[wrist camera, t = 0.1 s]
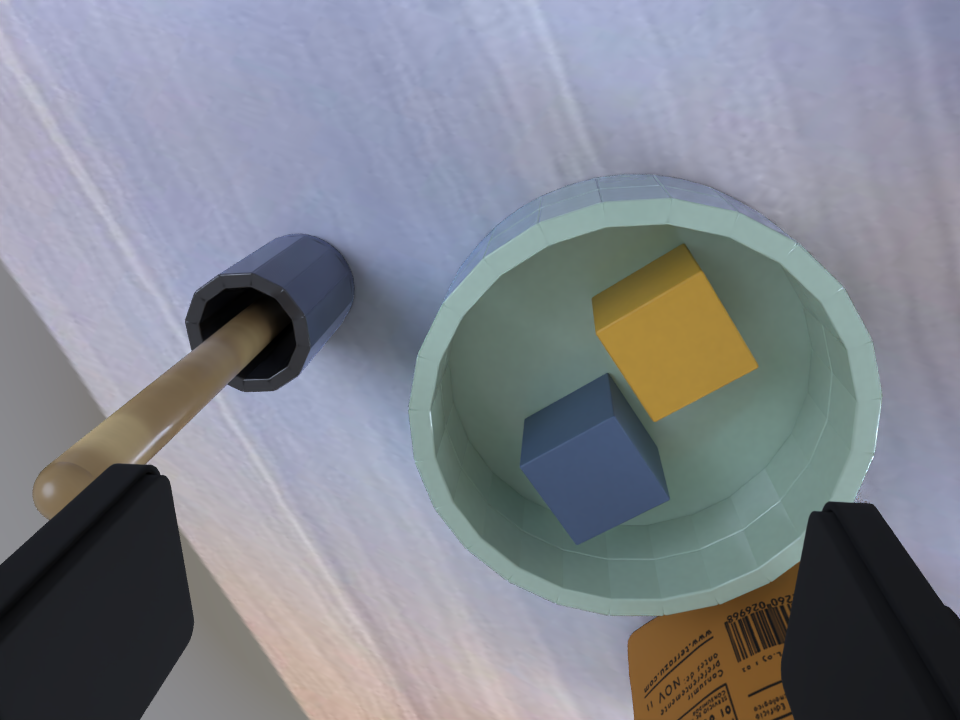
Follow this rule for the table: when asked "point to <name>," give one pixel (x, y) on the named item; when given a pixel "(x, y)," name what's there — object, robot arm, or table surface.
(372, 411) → the table surface
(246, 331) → the stick
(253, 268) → the holder
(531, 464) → the block
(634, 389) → the block
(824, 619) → the robot arm
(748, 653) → the coffee package
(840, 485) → the bowl
